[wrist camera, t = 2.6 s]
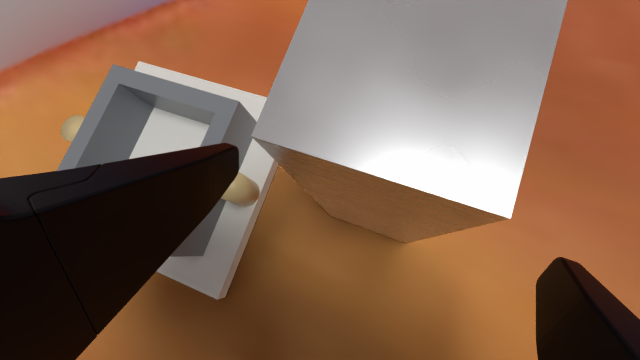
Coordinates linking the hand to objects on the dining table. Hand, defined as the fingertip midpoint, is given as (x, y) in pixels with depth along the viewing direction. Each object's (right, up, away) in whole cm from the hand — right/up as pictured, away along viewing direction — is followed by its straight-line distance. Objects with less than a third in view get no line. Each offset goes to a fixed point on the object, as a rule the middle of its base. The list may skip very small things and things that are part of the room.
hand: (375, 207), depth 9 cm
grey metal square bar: (+2, 0, +9) cm, 9 cm away
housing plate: (-11, +1, +12) cm, 16 cm away
